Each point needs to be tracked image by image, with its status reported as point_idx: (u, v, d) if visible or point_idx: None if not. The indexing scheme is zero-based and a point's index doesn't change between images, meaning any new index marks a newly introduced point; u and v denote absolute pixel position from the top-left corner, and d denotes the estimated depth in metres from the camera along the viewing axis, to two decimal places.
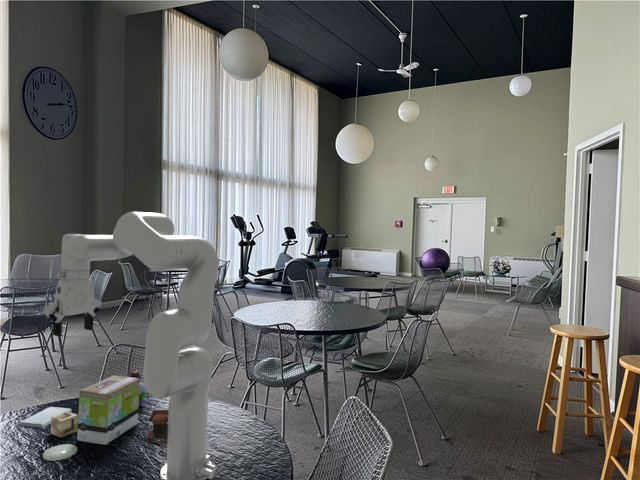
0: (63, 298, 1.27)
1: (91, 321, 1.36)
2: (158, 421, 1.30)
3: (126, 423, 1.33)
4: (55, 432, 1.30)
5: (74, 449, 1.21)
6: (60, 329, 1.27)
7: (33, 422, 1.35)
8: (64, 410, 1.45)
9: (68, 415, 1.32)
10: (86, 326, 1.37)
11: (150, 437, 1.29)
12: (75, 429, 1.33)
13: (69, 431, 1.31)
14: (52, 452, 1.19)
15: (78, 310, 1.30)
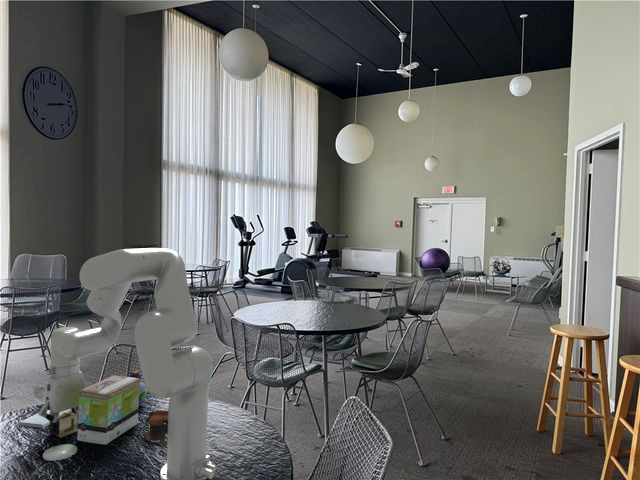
0: (53, 396, 1.27)
1: None
2: (155, 422, 1.29)
3: (126, 423, 1.33)
4: None
5: (74, 449, 1.21)
6: (57, 428, 1.29)
7: (33, 423, 1.35)
8: None
9: (68, 415, 1.32)
10: None
11: (147, 438, 1.28)
12: (75, 429, 1.33)
13: (69, 430, 1.31)
14: (52, 452, 1.19)
15: (68, 405, 1.30)
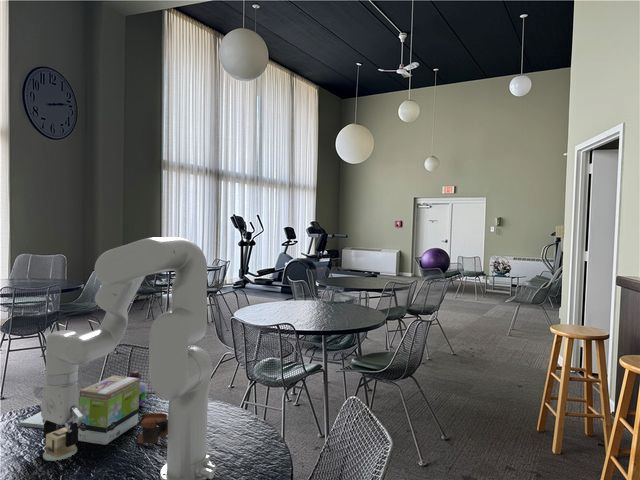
0: None
1: None
2: (148, 425, 1.28)
3: (126, 423, 1.33)
4: None
5: None
6: (44, 430, 1.21)
7: (33, 423, 1.35)
8: None
9: (59, 434, 1.19)
10: None
11: (139, 441, 1.26)
12: (55, 454, 1.17)
13: (50, 451, 1.18)
14: None
15: (49, 417, 1.17)
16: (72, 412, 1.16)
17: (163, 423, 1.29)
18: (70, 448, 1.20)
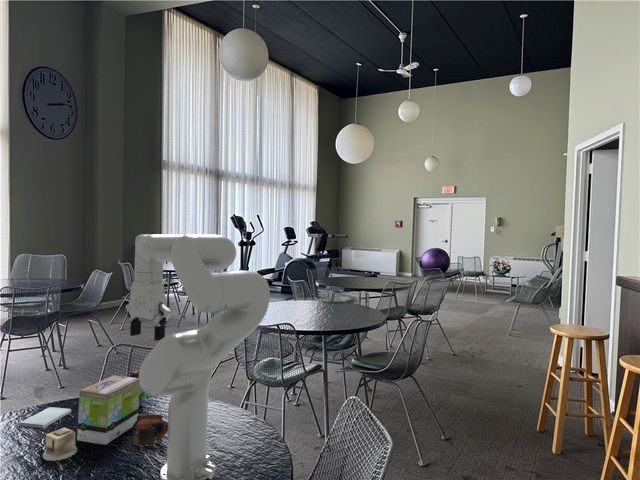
0: None
1: None
2: (143, 426, 1.26)
3: (126, 423, 1.33)
4: None
5: None
6: (131, 328, 1.28)
7: (34, 423, 1.35)
8: (64, 410, 1.45)
9: (59, 434, 1.19)
10: None
11: (135, 443, 1.25)
12: (55, 454, 1.17)
13: (50, 451, 1.18)
14: None
15: (138, 313, 1.25)
16: (160, 308, 1.24)
17: (159, 424, 1.28)
18: (70, 448, 1.20)
